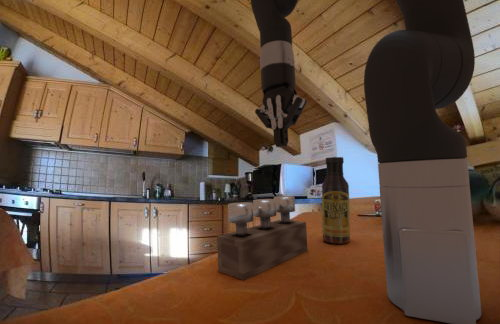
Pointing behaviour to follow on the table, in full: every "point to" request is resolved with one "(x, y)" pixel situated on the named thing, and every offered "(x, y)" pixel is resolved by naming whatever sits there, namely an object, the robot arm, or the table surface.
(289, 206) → the knob right
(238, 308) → the table surface
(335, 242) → the sauce bottle
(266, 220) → the knob middle
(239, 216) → the knob left
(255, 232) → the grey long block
